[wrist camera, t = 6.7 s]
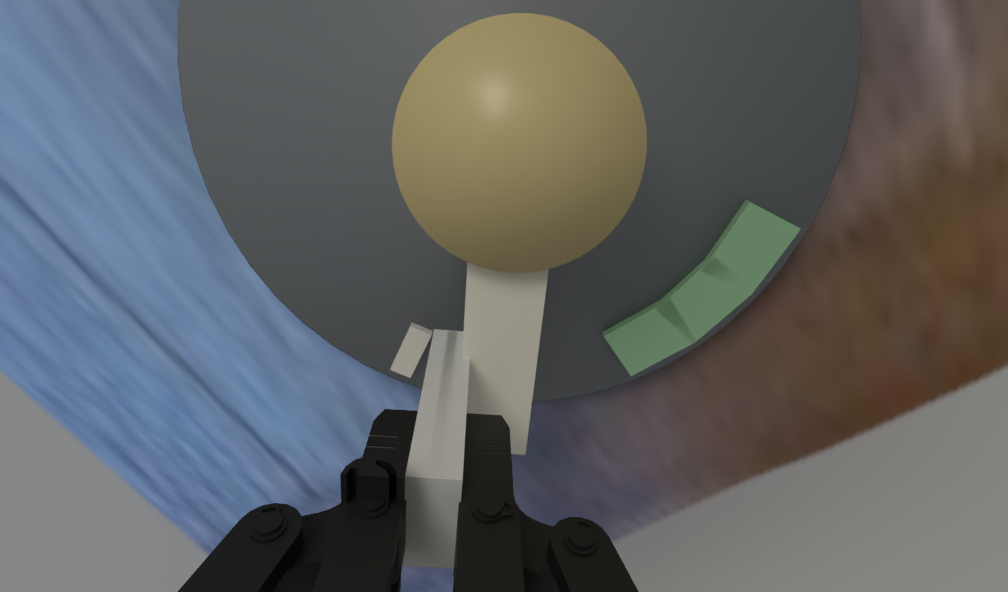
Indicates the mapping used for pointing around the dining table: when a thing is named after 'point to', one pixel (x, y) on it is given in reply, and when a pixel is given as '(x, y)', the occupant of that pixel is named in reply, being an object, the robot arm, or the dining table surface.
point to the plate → (570, 287)
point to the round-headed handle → (516, 179)
